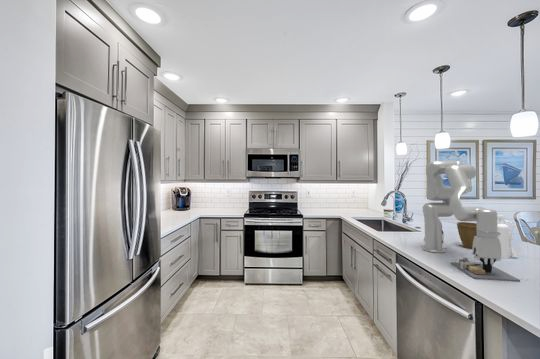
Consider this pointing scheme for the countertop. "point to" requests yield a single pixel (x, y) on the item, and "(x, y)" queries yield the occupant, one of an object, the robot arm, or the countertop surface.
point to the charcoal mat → (488, 274)
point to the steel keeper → (463, 264)
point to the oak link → (473, 267)
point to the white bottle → (505, 237)
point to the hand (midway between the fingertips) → (487, 271)
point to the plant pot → (467, 233)
